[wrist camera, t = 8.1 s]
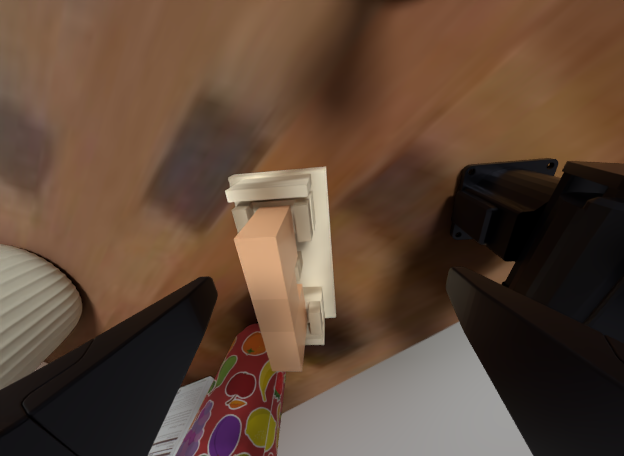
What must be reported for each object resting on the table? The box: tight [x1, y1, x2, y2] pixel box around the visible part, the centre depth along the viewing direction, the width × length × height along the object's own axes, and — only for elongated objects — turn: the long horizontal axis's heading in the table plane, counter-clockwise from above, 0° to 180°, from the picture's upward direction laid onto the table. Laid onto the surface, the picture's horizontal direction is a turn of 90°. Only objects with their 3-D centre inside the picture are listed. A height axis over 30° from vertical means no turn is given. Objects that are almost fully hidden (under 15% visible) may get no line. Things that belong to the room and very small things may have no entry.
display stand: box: [225, 167, 336, 345], centre depth 20 cm, size 8×16×5 cm, turn 6°
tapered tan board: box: [234, 205, 308, 372], centre depth 17 cm, size 2×12×5 cm, turn 6°
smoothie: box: [175, 323, 286, 456], centre depth 19 cm, size 8×8×20 cm
